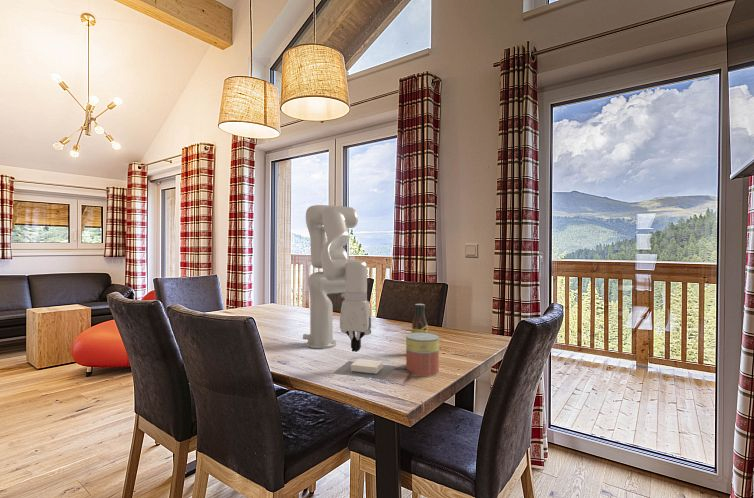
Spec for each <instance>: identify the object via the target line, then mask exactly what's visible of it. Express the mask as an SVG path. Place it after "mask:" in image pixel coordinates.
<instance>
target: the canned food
mask: <svg viewBox="0 0 754 498" xmlns="http://www.w3.org/2000/svg"><path fill="white" fill-rule="evenodd" d="M405 337H406V343H405V345H406V351H405V355H406V357H405V360H406V362H405V364H406V366H405V368H406V370H407V371H409V373H408V374H409V375H411V376H415V377H426V378H427V377H433V376H437V375H438V374H439V373H440V370H439V369H440V368H439V367H440V365H439V364H440V360H439V359H440V336H439V335H438V334H435V333H430V332H428V333H422V332H419V333H412V332H411V333H407V334H406V335H405Z"/></svg>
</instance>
